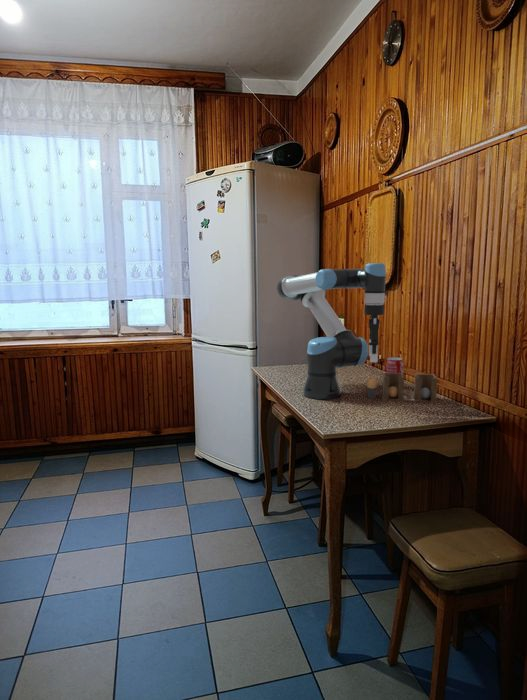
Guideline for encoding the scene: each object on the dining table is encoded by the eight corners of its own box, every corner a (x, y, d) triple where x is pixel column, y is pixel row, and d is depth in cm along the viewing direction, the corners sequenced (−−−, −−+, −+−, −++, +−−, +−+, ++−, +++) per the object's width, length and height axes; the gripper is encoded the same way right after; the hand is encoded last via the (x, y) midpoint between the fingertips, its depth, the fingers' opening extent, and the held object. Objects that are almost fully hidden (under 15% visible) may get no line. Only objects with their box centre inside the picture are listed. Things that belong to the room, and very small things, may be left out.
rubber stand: (367, 400, 183) (368, 389, 183) (367, 398, 186) (367, 387, 186) (375, 400, 183) (376, 389, 182) (375, 398, 186) (375, 387, 185)
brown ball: (366, 390, 182) (366, 379, 182) (366, 387, 186) (366, 376, 186) (377, 390, 181) (378, 379, 181) (377, 388, 186) (377, 377, 185)
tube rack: (382, 402, 180) (383, 376, 179) (381, 397, 187) (382, 372, 186) (437, 404, 177) (438, 378, 175) (434, 399, 184) (435, 374, 182)
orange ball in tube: (387, 398, 181) (387, 387, 180) (386, 395, 185) (386, 385, 185) (399, 399, 180) (399, 388, 180) (398, 396, 185) (398, 385, 184)
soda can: (403, 390, 198) (404, 360, 196) (385, 389, 199) (386, 359, 197) (401, 386, 205) (402, 357, 203) (384, 385, 206) (385, 356, 204)
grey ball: (419, 400, 179) (420, 388, 178) (418, 397, 183) (418, 386, 182) (431, 400, 178) (432, 389, 177) (429, 397, 182) (430, 386, 182)
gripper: (386, 306, 166) (384, 365, 169) (382, 302, 190) (381, 353, 193) (365, 306, 167) (363, 364, 171) (363, 302, 191) (362, 353, 195)
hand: (373, 359), depth 182 cm, fingers open, 13 cm apart
